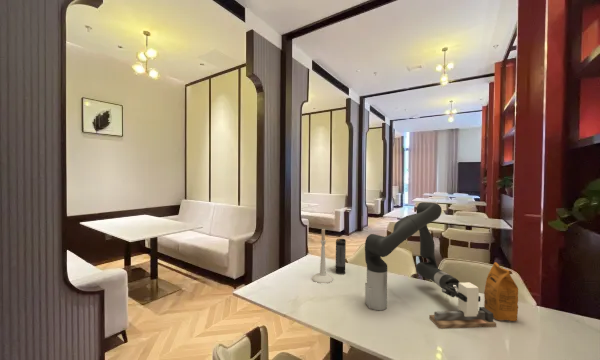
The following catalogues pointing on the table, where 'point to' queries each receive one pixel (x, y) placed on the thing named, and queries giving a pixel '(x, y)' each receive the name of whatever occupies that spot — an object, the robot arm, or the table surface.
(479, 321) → the rail base
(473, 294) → the tall cream pillar
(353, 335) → the table surface
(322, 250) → the candlestick
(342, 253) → the electronic device
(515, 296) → the coffee package
